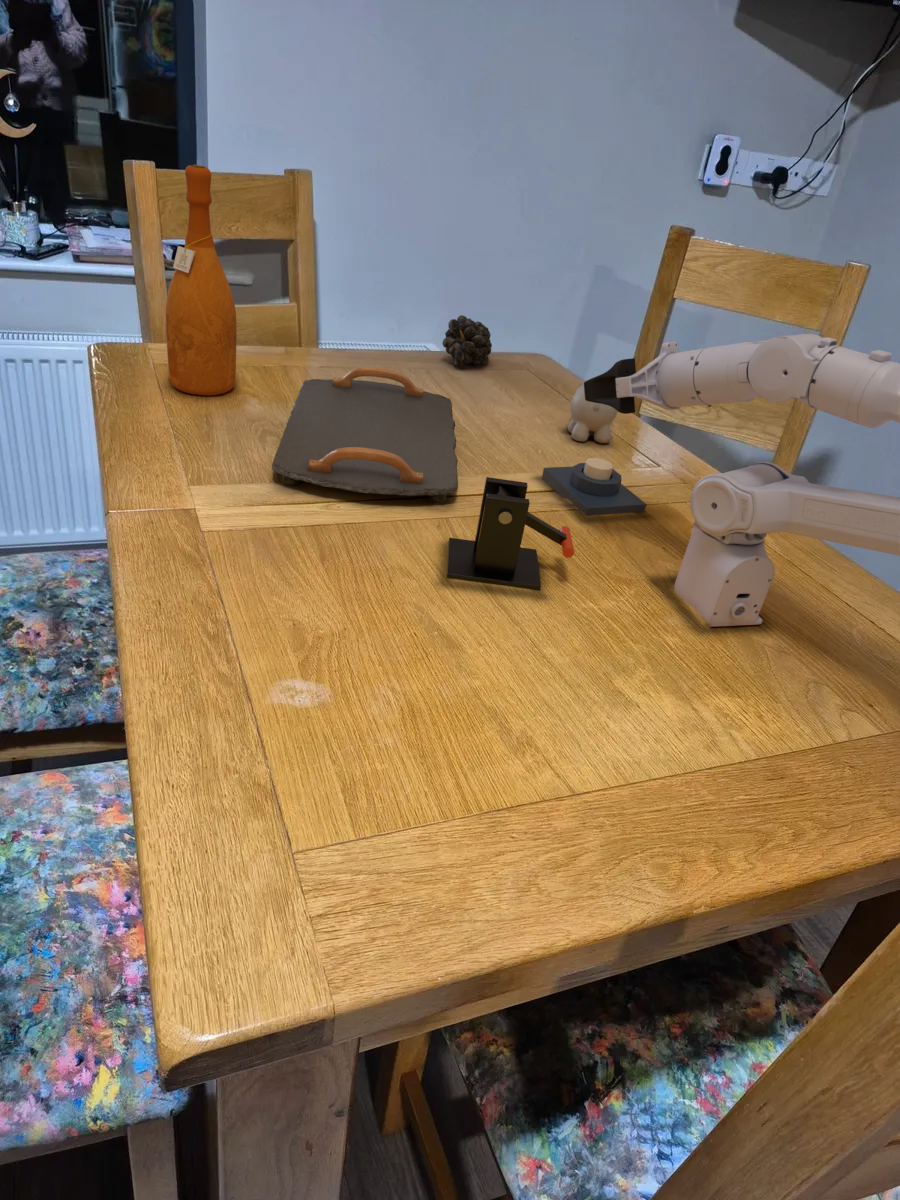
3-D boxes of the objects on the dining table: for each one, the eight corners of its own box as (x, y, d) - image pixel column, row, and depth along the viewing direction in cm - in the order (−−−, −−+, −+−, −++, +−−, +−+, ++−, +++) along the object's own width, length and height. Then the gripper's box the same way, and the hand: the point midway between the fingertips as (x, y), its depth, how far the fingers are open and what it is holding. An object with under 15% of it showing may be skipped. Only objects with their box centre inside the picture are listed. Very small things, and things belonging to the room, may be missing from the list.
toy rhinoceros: (600, 420, 137) (612, 370, 133) (613, 449, 127) (627, 395, 123) (557, 415, 137) (568, 364, 132) (567, 443, 127) (580, 389, 122)
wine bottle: (167, 374, 127) (157, 155, 111) (233, 376, 131) (233, 164, 114) (169, 397, 120) (159, 166, 104) (239, 399, 123) (240, 175, 107)
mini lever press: (534, 558, 95) (552, 480, 89) (538, 595, 88) (558, 513, 83) (447, 546, 94) (460, 467, 89) (445, 583, 87) (459, 499, 82)
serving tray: (304, 390, 130) (306, 350, 127) (450, 408, 132) (456, 370, 129) (264, 499, 97) (265, 450, 94) (458, 522, 100) (466, 474, 96)
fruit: (518, 344, 157) (485, 333, 144) (494, 381, 161) (459, 373, 147) (486, 317, 160) (450, 304, 146) (462, 354, 163) (425, 345, 150)
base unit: (643, 515, 109) (650, 491, 107) (584, 520, 105) (591, 495, 103) (596, 476, 118) (602, 453, 116) (541, 478, 114) (546, 455, 112)
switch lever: (562, 541, 92) (575, 525, 91) (566, 564, 88) (580, 547, 86) (486, 497, 89) (499, 479, 88) (487, 518, 85) (500, 500, 84)
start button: (615, 481, 109) (618, 468, 108) (591, 482, 108) (594, 469, 107) (600, 469, 112) (604, 457, 111) (578, 470, 110) (581, 458, 109)
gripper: (749, 332, 88) (647, 348, 99) (662, 340, 80) (562, 356, 91) (751, 399, 90) (651, 408, 101) (667, 414, 82) (567, 421, 92)
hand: (609, 388), depth 96 cm, fingers open, 7 cm apart
